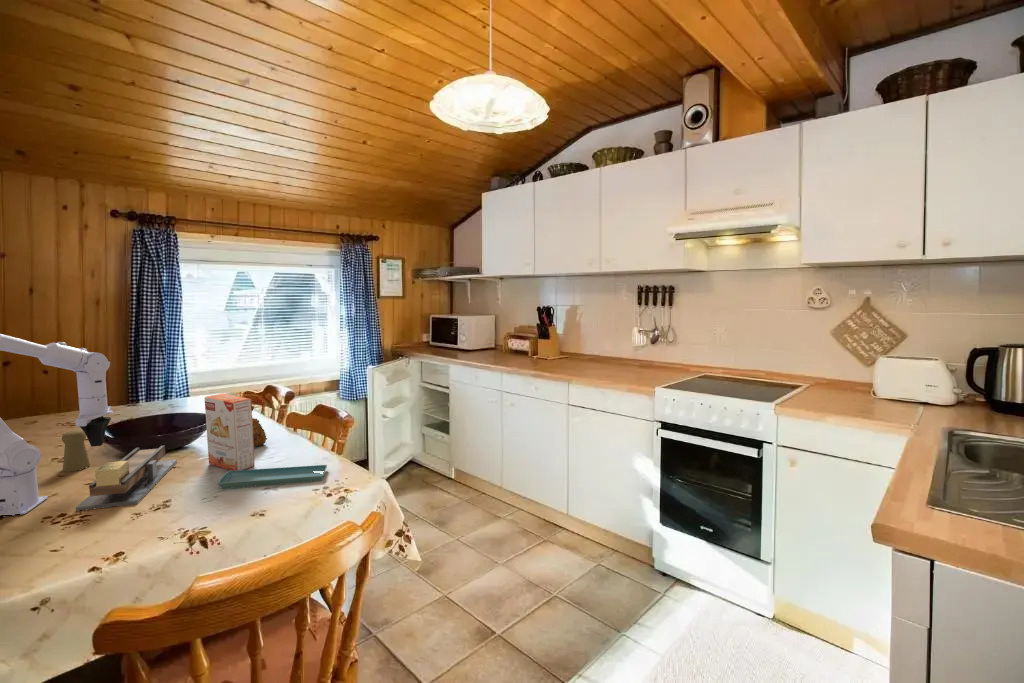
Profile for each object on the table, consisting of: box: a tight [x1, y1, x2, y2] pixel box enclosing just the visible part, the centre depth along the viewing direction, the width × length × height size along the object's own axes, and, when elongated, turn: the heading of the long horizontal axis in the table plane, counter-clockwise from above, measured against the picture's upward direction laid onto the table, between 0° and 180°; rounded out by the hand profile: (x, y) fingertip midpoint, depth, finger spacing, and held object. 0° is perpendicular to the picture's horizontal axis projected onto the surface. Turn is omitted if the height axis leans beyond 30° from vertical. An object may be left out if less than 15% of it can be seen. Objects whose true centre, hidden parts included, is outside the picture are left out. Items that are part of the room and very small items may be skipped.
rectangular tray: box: [217, 464, 328, 490], centre depth 132 cm, size 26×9×2 cm, turn 105°
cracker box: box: [204, 393, 255, 471], centre depth 141 cm, size 14×6×21 cm, turn 62°
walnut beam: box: [88, 445, 166, 497], centre depth 128 cm, size 28×7×3 cm, turn 20°
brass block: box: [94, 460, 129, 487], centre depth 117 cm, size 6×4×4 cm
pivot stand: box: [75, 459, 178, 512], centre depth 128 cm, size 30×12×6 cm, turn 20°
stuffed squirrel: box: [251, 405, 268, 448], centre depth 161 cm, size 10×14×13 cm
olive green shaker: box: [61, 429, 91, 473], centre depth 139 cm, size 6×6×11 cm
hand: (96, 445), depth 129 cm, fingers closed
